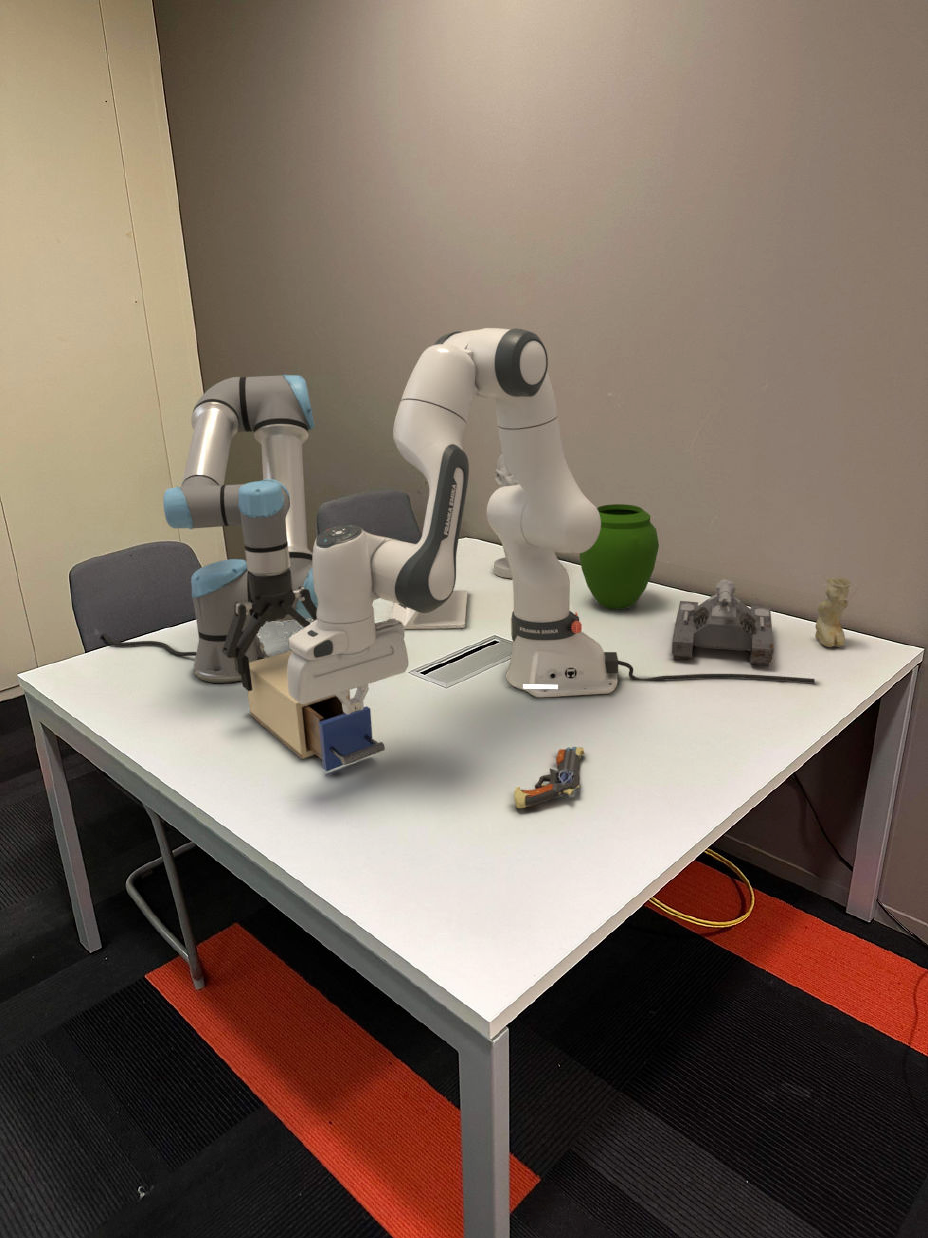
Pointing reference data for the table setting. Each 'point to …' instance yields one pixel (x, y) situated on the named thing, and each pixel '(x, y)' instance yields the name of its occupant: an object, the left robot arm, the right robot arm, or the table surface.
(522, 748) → the table surface
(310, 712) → the drawer
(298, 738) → the cabinet
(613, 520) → the vase
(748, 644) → the toy
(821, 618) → the sculpture
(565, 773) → the toy gun
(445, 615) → the tablet stand
